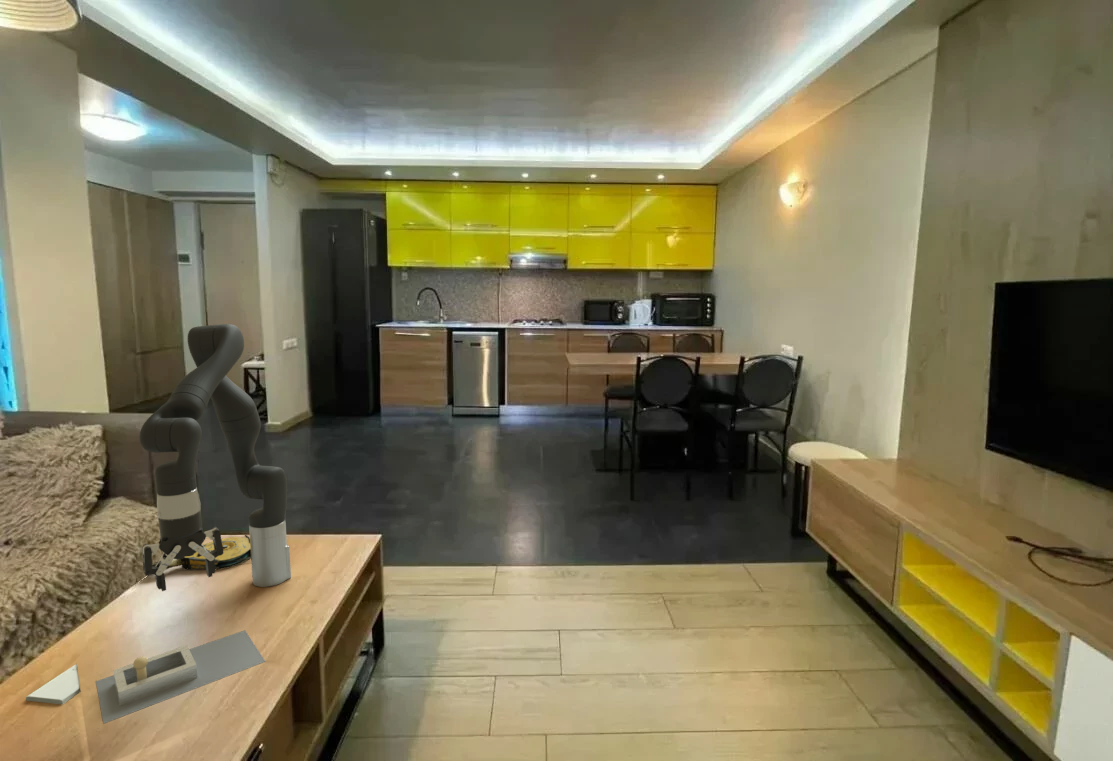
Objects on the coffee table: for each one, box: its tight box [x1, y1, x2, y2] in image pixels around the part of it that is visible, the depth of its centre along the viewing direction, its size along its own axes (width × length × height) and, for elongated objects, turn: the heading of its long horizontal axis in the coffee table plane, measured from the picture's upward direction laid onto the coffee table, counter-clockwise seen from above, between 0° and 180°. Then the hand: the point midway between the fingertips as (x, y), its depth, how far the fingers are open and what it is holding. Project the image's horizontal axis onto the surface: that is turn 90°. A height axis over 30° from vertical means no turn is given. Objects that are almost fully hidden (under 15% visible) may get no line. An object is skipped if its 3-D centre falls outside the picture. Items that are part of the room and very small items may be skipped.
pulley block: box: [143, 534, 251, 574], centre depth 174 cm, size 14×6×30 cm
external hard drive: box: [25, 663, 82, 705], centre depth 120 cm, size 2×8×12 cm
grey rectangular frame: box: [112, 644, 197, 707], centre depth 119 cm, size 13×9×3 cm
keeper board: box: [95, 629, 266, 724], centre depth 122 cm, size 28×16×7 cm, turn 132°
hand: (186, 582), depth 124 cm, fingers open, 8 cm apart
